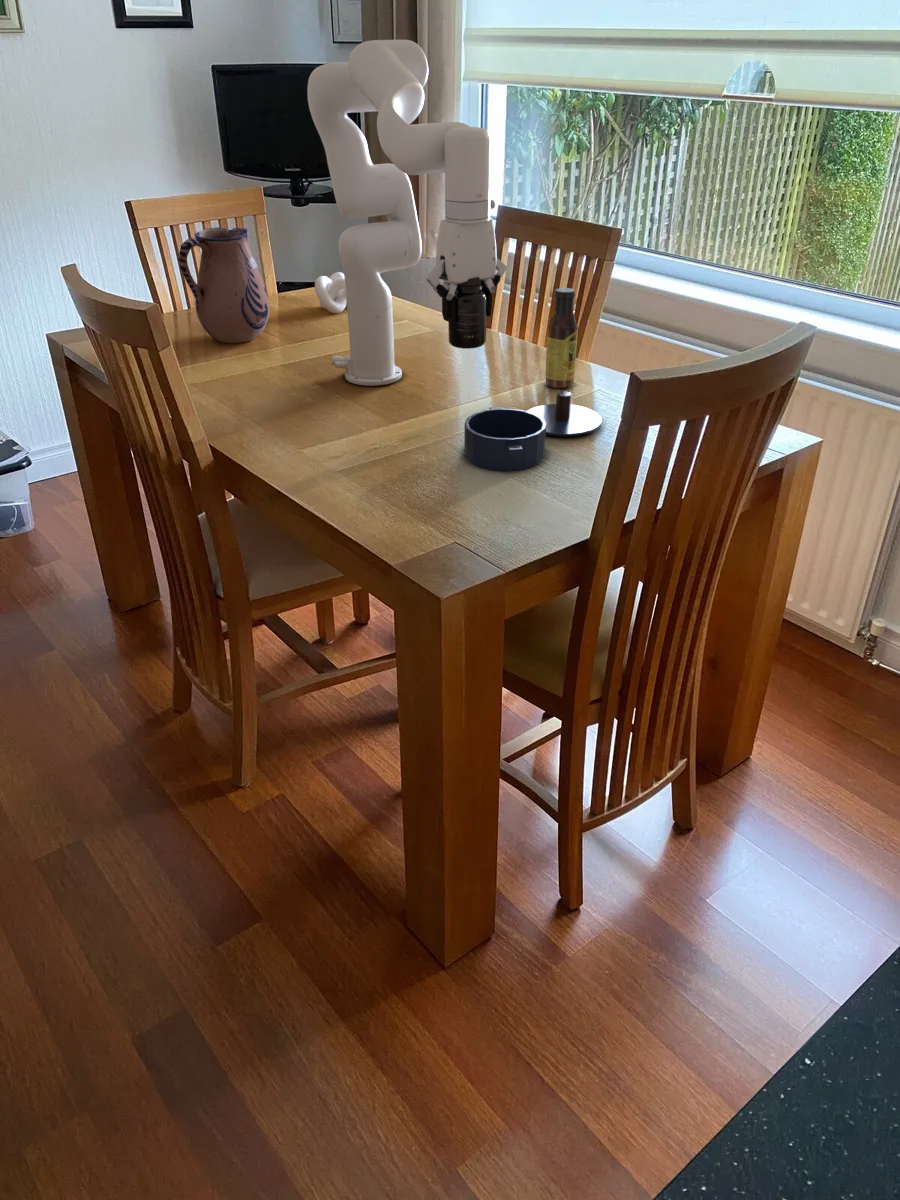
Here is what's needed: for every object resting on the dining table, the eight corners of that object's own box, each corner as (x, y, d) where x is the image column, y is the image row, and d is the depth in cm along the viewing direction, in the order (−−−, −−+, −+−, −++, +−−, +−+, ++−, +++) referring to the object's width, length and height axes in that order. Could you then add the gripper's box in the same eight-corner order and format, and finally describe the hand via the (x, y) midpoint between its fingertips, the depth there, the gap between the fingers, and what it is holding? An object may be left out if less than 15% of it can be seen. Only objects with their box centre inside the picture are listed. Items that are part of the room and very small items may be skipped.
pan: (473, 480, 154) (474, 448, 151) (457, 435, 170) (457, 405, 167) (555, 475, 156) (557, 443, 152) (531, 431, 172) (533, 401, 169)
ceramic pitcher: (287, 334, 224) (276, 228, 210) (227, 358, 209) (211, 245, 195) (236, 324, 232) (222, 221, 218) (175, 345, 217) (155, 236, 203)
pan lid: (531, 441, 168) (533, 410, 165) (515, 411, 181) (516, 381, 177) (611, 436, 170) (614, 406, 166) (589, 407, 182) (592, 378, 179)
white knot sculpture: (339, 318, 236) (336, 283, 231) (304, 311, 241) (301, 277, 236) (365, 308, 244) (363, 274, 239) (331, 302, 249) (328, 268, 244)
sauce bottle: (572, 390, 190) (579, 295, 179) (543, 388, 191) (548, 293, 180) (575, 380, 196) (582, 286, 185) (546, 378, 197) (551, 285, 186)
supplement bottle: (446, 338, 165) (446, 270, 158) (483, 337, 165) (484, 270, 159) (449, 350, 159) (449, 280, 152) (488, 348, 159) (489, 279, 153)
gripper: (496, 202, 156) (494, 306, 166) (411, 212, 149) (414, 320, 158) (522, 208, 151) (518, 315, 161) (435, 219, 143) (437, 331, 153)
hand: (467, 317), depth 159 cm, fingers closed on supplement bottle, 6 cm apart
